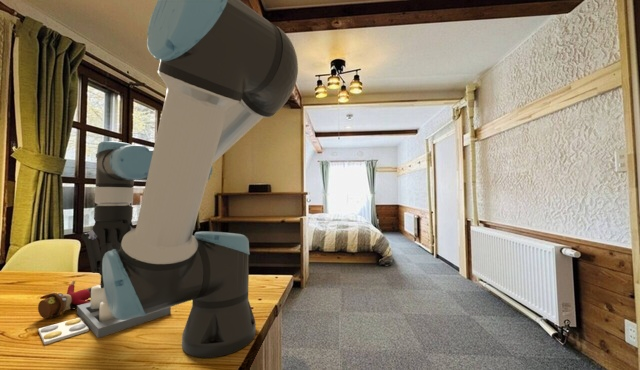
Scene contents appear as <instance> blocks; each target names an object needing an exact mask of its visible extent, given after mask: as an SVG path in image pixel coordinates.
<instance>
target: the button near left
mask: <svg viewBox="0 0 640 370" xmlns="http://www.w3.org/2000/svg"><path fill="white" fill-rule="evenodd" d="M113 318H115V317H114V316H113V315H112V313H111V311H110V309H109V306H108V303H103V302H101V303H100V310H99V322H103V321H106V320H109V319H113Z"/></svg>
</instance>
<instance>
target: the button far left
mask: <svg viewBox="0 0 640 370" xmlns="http://www.w3.org/2000/svg"><path fill="white" fill-rule="evenodd" d="M90 288H91V287H90ZM103 297H104V288H101V285H100V284H98V285H93V286H92V288H91V298H90V300H91V304H90V308H91V309H100V303H101V302H103Z"/></svg>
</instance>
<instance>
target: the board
mask: <svg viewBox="0 0 640 370" xmlns="http://www.w3.org/2000/svg"><path fill="white" fill-rule="evenodd" d="M90 304H91V302H89V303H85V304H81V305H77V309H76V314H77V315H78V317H79V318H80V319H81V320H82V321H83V322H84V324H85V325H86V326H87V327H88V328H89V330H90V331H91V332H92V333H93V334H94V336H96V337H97V339H100V338H102V337H106V336H108V335H113V334H114V333H117V332H120V331H124V330H127V329H130V328H132V327H133V328H134V327H135V326H139V325H141V324H145V323H147V321H148V322H150V321H153V320H157V319H159V318H162V317H165V316H168V315H171V312H172V309H171V308H172V307H169V308H166V309H162V310H159V311H156V312H153V313H150V314H147V315H146V316H139V317H135V318H131V319H127V320H119V319H116V318H113V319H109V320H106V321H103V322H99V310H100V309H91V308H90ZM144 322H145V323H144Z"/></svg>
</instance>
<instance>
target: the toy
mask: <svg viewBox="0 0 640 370" xmlns="http://www.w3.org/2000/svg"><path fill="white" fill-rule="evenodd" d="M75 284H76V280H75V281H74V280H73V281H71V283H70V284H69V285H68V287H67V292H66V293H61V292H60V293H57V292H52V293H50V294H48V295H47V296H46V297H45V298H44V299H42V300H40V301H39V303H38V306H37V312H38V313H39V315H40V317H41V318H43V319H45V320H46V319H48V318H50V317H54V318H55V317H60V315H61V314H62V313H63V312H64V311H66V310H67V311H68V310H77V305H81V304H85V303H89V302H91V288H92V287H93V286H92V287H88V288H86V289H85V288H84V289H81V290H77V291H75V287H76V285H75ZM99 285H101V283H99Z"/></svg>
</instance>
